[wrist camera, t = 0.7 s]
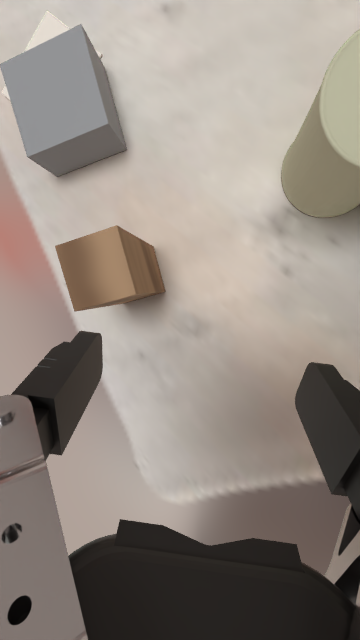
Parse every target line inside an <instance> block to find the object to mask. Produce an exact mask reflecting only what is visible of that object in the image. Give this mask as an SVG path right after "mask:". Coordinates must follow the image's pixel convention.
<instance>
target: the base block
mask: <svg viewBox="0 0 360 640" xmlns="http://www.w3.org/2000/svg"><path fill="white" fill-rule="evenodd" d="M0 67H1V71H2V74H3V77H4V81H5V84H6V87H7V91H8V94H9V97H10V101H11V104H12V107H13V111H14V114H15V117H16V121H17V124H18V127H19V131H20V134H21V137H22V141H23V144H24V147H25V151H26V154H27V157H28V158H30V159H31V160H33V161H34V162H36V163H37V164H39V165H40V166H42V167H43V168H45V169H46V170H48V171H49V172H51V173H52V174H54V175H55V176H57V177H58V176H60V175H63V174H65V173H68V172H71V171H73V170H76V169H78V168H81V167H83V166H86V165H89V164H91V163H94V162H96V161H99V160H101V159H104V158H107V157H109V156H112V155H114V154H117V153H119V152H122V151H125V150H127V148H126V145H125V141H124V137H123V134H122V130H121V126H120V123H119V119H118V115H117V112H116V108H115V104H114V100H113V97H112V93H111V89H110V86H109V82H108V78H107V75H106V71H105V67H104V65H103V63H102V62H101V60H100V58H99V56H98V54H97V52H96V51H95V49H94V47H93V45H92V43H91V41H90V39H89V38H88V36H87V34H86V32H85V30H84V28H83V27H82V25H81V24H80V25H78V26H76V27H74V28H72V29H70V30H68V31H66V32H64V33H62V34H60V35H58V36H56V37H54V38H52V39H50V40H48V41H46V42H44V43H42V44H40V45H38V46H36V47H34V48H32V49H30V50H28V51H26V52H24V53H22V54H20V55H18V56H15V57H13V58H11V59H9V60H7V61H5V62H3V63H1V64H0Z"/></svg>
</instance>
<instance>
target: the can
mask: <svg viewBox="0 0 360 640" xmlns="http://www.w3.org/2000/svg"><path fill="white" fill-rule="evenodd" d="M281 179H282V186H283V189H284V192H285V194H286V196H287V198H288V200H289V201H290V202H291V203H292V205H294V206H295V207H296V208H297V209H298V210H300V211H301V212H303V213H305V214H307V215H310V216H314V217H321V218H327V217H335V216H339V215H342V214H344V213H347V212H349V211H350V210H352V209H354V208H355V207H357V206H358V205H359V204H360V29H359V30H358V31H356V32H355V33H354V34H353V35H352V36H351V37H350V38H349V39H348V40H347V41H346V42H345V43H344V44H343V46H342V47H341V48H340V49H339V51H338V52H337V53H336V55H335V56H334V58H333V59H332V61H331V63H330V65H329V67H328V69H327V71H326V73H325V76H324V79H323V82H322V85H321V87H320V89H319V91H318V93H317V95H316V98H315V100H314V102H313V104H312V106H311V108H310V110H309V112H308V115H307V117H306V119H305V121H304V123H303V125H302V127H301V129H300V131H299V133H298V135H297V137H296V139H295V141H294V142H293V144H292V145H291V146H290V148H289V150H288V151H287V153H286V156H285V158H284V161H283V165H282V172H281Z"/></svg>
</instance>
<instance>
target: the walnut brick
mask: <svg viewBox="0 0 360 640" xmlns="http://www.w3.org/2000/svg"><path fill="white" fill-rule="evenodd" d="M55 248H56V251H57V254H58V258H59V261H60V264H61V268H62V271H63V274H64V278H65V281H66V284H67V288H68V291H69V294H70V298H71V301H72V304H73V308H74V311H81V310H87V309H93V308H99V307H105V306H111V305H117V304H123V303H127V302H130V301H134V300H137V299H141V298H145V297H148V296H152V295H155V294H159V293H163V292H166V291H165V288H164V284H163V280H162V277H161V273H160V269H159V266H158V262H157V258H156V255H155V251H154V247H153V246H152V245H150V244H148V243H146V242H145V241H143V240H141V239H139V238H138V237H136V236H134V235H132V234H131V233H129V232H127V231H126V230H124V229H122V228H120V227H119V226H114V227H111V228H108V229H105V230H102V231H99V232H96V233H93V234H90V235H87V236H84V237H81V238H78V239H75V240H72V241H69V242H66V243H63V244H60V245H57V246H55Z"/></svg>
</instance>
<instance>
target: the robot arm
mask: <svg viewBox="0 0 360 640" xmlns="http://www.w3.org/2000/svg"><path fill="white" fill-rule="evenodd" d="M102 368H103V362H102V336H101V334H100V333H93V332H85V331H80V332H79V333H78V334H77V335H76V336H75V338H74V339H73V340H72V341H71V342H70V343H69V342H63V343H61V344H60V345H58V346H56V347H54V348H53V349H51V351H50V352H49V353H48V354H47V355H46V356H45V357H44V359H43V360H42V361H41V362H40V363H39V364H38V366H37V367H35V368H34V370H33V371H32V372H31V373H30V374H29V375H28V376H27V377H26V378H25V380H24V381H23V382H22V383H21V384H20V385H19V386H18V388H16V390H15V391H14V392H13V393H12V394H11V395H5V396H0V640H360V391H359V390H358V389H357V388H355V387H354V386H353V385H352V384H350V383H349V382H348V381H347V380H344V379H343V378H342V376H341V375H340V374H339V372H338V371H337V369H336V368H335V367H334V366H333V365H329V364H321V363H314V362H311V363H309V364H308V366H307V368H306V370H305V373H304V375H303V378H302V380H301V383H300V385H299V388H298V390H297V393H296V397H295V405H296V409H297V412H298V414H299V417H300V419H301V422H302V424H303V426H304V429H305V431H306V434H307V436H308V438H309V441H310V443H311V446H312V448H313V451H314V453H315V455H316V458H317V460H318V463H319V465H320V467H321V470H322V472H323V475H324V477H325V479H326V482H327V484H328V487H329V489H330V491H331V494H334V495H342V496H348V498H349V500H350V502H351V503H350V505H349V506H348V508H347V510H346V513H345V517H344V520H343V523H342V527H341V530H340V533H339V537H338V540H337V544H336V547H335V550H334V554H333V557H332V560H331V563H330V566H329V568H328V570H327V572H326V574H325V576H323V575H322V574H320V573H319V572H317V571H316V570H314V569H313V568H311V567H309V566H308V565H306V564H304V563H302V562H301V560H300V556H299V552H298V548H297V545H296V544H290V543H283V542H276V541H268V540H262V539H255V538H252V539H246V540H240V541H235V542H229V543H224V544H218V545H213V546H209V545H204V544H202V543H200V542H198V541H196V540H193V539H191V538H189V537H187V536H185V535H183V534H180V533H178V532H176V531H174V530H172V529H169V528H168V527H165V526H163V525H156V524H149V523H142V522H135V521H128V520H121V519H120V522H119V526H118V530H117V534H113V535H108V536H105V537H102V538H99V539H96V540H94V541H92V542H90V543H87V544H86V545H84V546H82V547H81V548H79V549H77V550H76V551H74V552H73V553H72V554H70V555H69V556H68V553H67V549H66V544H65V540H64V536H63V532H62V527H61V523H60V519H59V515H58V511H57V507H56V502H55V498H54V494H53V489H52V485H51V481H50V477H49V472H48V469H47V464H46V459H47V457H48V455H49V454H57V455H62V454H63V452H64V450H65V448H66V446H67V444H68V442H69V440H70V438H71V436H72V434H73V432H74V430H75V428H76V426H77V424H78V422H79V420H80V419H81V417H82V415H83V413H84V411H85V409H86V407H87V405H88V403H89V401H90V399H91V397H92V395H93V393H94V391H95V389H96V387H97V385H98V383H99V381H100V378H101V375H102Z"/></svg>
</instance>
